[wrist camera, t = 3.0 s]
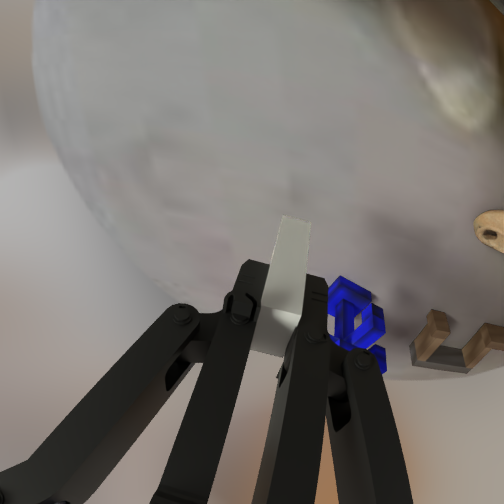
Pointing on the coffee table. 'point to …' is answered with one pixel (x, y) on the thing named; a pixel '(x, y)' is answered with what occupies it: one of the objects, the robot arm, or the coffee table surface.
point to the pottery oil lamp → (491, 229)
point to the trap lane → (452, 359)
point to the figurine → (344, 310)
